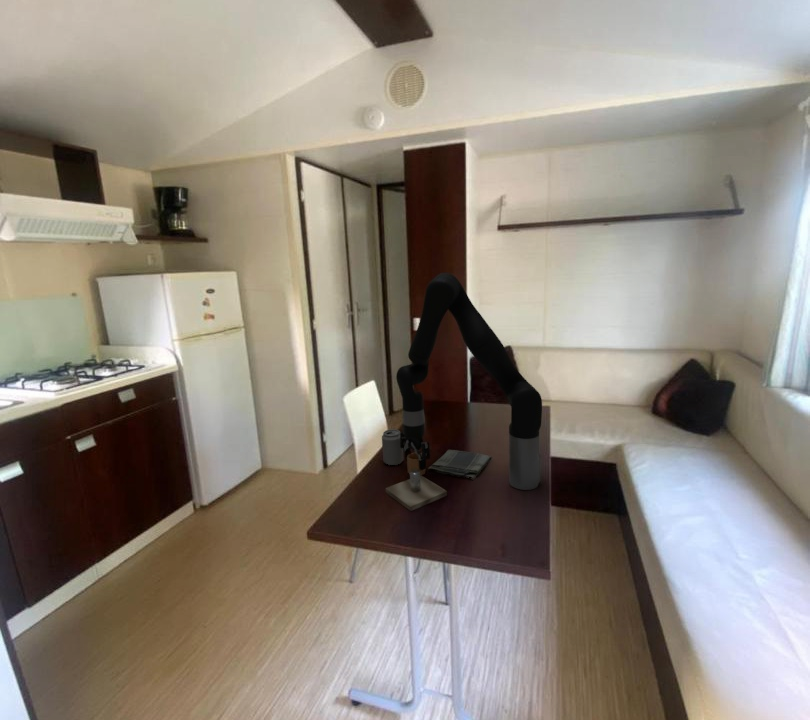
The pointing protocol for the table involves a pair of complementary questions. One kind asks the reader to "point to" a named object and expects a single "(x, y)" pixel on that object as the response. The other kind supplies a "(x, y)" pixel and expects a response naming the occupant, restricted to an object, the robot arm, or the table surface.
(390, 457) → the can
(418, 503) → the base
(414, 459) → the collar
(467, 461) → the dish towel
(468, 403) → the table surface
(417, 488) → the grey glossy cylinder
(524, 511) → the table surface
